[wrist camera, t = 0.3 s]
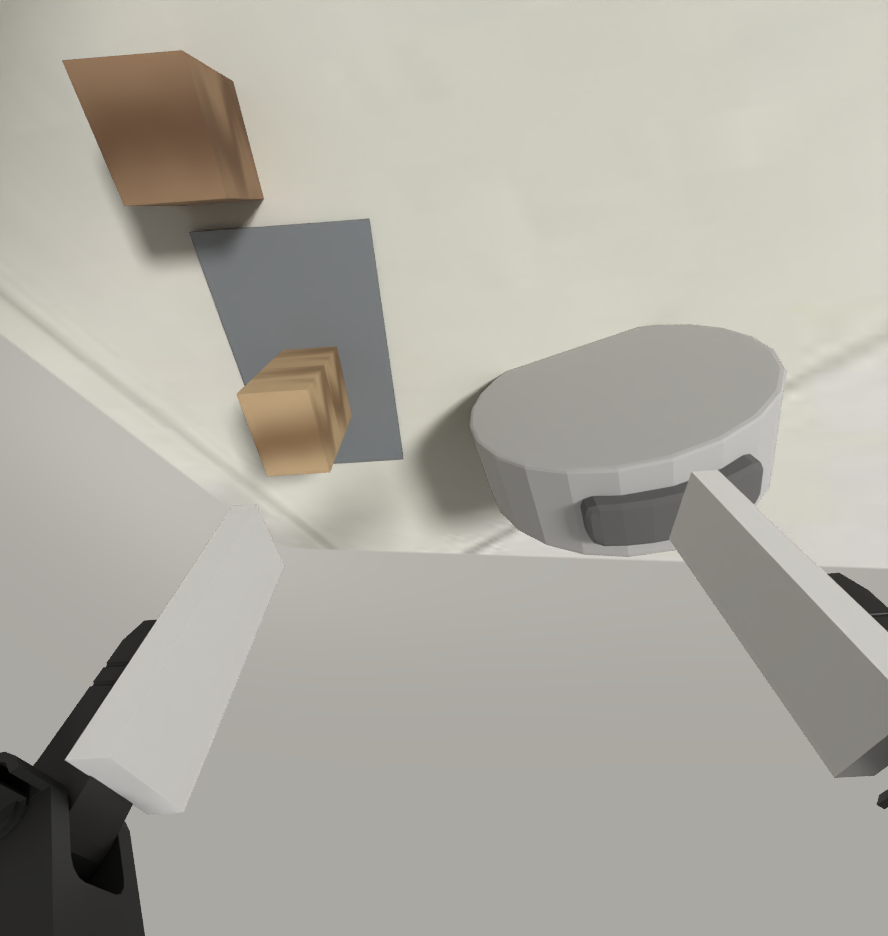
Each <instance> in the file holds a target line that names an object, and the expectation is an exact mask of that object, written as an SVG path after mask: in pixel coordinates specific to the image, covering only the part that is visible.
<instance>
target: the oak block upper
mask: <svg viewBox="0 0 888 936" xmlns="http://www.w3.org/2000/svg"><path fill="white" fill-rule="evenodd" d="M236 395H237V397H238V400H239V402H240V405H241V408H242V410H243V413H244V416H245V418H246V421H247V423H248V426H249V429H250V431H251V434H252V437H253V439H254V442H255V444H256V447H257V450H258V452H259V455H260V458H261V460H262V463H263V465H264V468H265V471H266V473H267V476H279V475H295V474H310V473H326V472H330V471H331V468H332V466H333V463H334V460H335V458H336V455H337V453H338V450H339V448H340V445H341V442H342V438H341V434H340V430H339V426H338V421H337V417H336V413H335V409H334V404H333V400H332V396H331V392H330V388H329V383H328V379H327V375H326V371H325V367H324V365H318V366H303V367H289V368H274V369H262V370H261V371H260V372H259V373H258V374H257V375H256V376H255V377H254V378H253V379H252V380H251V381H250V382H249V383H248V384H247V385H246V386H244V387H243V388H242V389H241V390H240V391H239V392H238V393H237V394H236Z"/></svg>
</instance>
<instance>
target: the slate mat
mask: <svg viewBox="0 0 888 936" xmlns="http://www.w3.org/2000/svg"><path fill="white" fill-rule="evenodd" d="M189 233H190V236H191V238H192V241H193V244H194V247H195V249H196V252H197V255H198V258H199V260H200V263H201V266H202V269H203V271H204V274H205V277H206V280H207V282H208V285H209V288H210V291H211V293H212V296H213V299H214V302H215V304H216V307H217V310H218V313H219V315H220V318H221V321H222V324H223V326H224V329H225V332H226V335H227V337H228V340H229V343H230V346H231V348H232V351H233V354H234V357H235V359H236V362H237V365H238V368H239V370H240V373H241V376H242V379H243V381H244V384H245V386H246V385H247V384H248V383H249V382H250V381H251V380H252V379H253V378H254V377H255V376H256V375H257V374H258V373H259V372H260V371H261V370H262V369H263V368H264V367H265V366H266V365H267V364H268V363H269V362H270V361H272V360H273V359H274V358H275V357H276V356H277V355H278V354H279V353H280V352H281V351H282V350H291V349H306V348H320V347H335V346H337V349H338V354H339V358H340V363H341V368H342V372H343V377H344V382H345V386H346V391H347V396H348V401H349V405H350V410H351V415H352V417H351V419H350V422H349V425H348V427H347V430H346V432H345V435H344V437H343V440H342V442H341V445H340V448H339V450H338V453H337V455H336V458H335V460H334V463H333V464H335V463H351V462H367V461H382V460H398V459H403V452H402V445H401V438H400V431H399V424H398V417H397V410H396V403H395V396H394V389H393V382H392V375H391V368H390V361H389V354H388V347H387V340H386V333H385V325H384V318H383V311H382V304H381V297H380V290H379V283H378V276H377V269H376V262H375V255H374V248H373V241H372V234H371V227H370V220H369V219H360V220H347V221H333V222H320V223H307V224H293V225H280V226H267V227H253V228H240V229H227V230H213V231H200V232H189Z"/></svg>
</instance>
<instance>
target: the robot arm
mask: <svg viewBox="0 0 888 936" xmlns="http://www.w3.org/2000/svg"><path fill="white" fill-rule="evenodd" d="M669 540H670V541H671V542H672V544H673V545H674V547H675V548H676V550H677V551H678V553H679V554H680V555H681V557H682V558H683V560H684V561H685V563H686V564H687V566H688V567H689V568H690V570H691V571H692V573H693V574H694V575H695V577H696V579H697V580H698V581H699V583H700V584H701V586H702V587H703V589H704V590H705V592H706V593H707V594H708V596H709V597H710V599H711V600H712V601H713V603H714V604H715V606H716V607H717V609H718V610H719V612H720V613H721V615H722V616H723V618H724V619H725V620H726V622H727V623H728V625H729V626H730V628H731V629H732V631H733V632H734V633H735V635H736V636H737V638H738V639H739V641H740V642H741V643H742V645H743V646H744V648H745V649H746V651H747V652H748V654H749V655H750V656H751V658H752V659H753V661H754V662H755V664H756V665H757V667H758V668H759V669H760V671H761V672H762V674H763V675H764V677H765V678H766V680H767V681H768V683H769V684H770V685H771V687H772V688H773V690H774V691H775V693H776V694H777V695H778V697H779V698H780V700H781V701H782V703H783V704H784V706H785V707H786V708H787V710H788V711H789V713H790V714H791V716H792V717H793V719H794V720H795V722H796V723H797V724H798V726H799V727H800V729H801V730H802V731H803V733H804V735H805V736H806V737H807V739H808V740H809V742H810V743H811V745H812V746H813V747H814V749H815V750H816V752H817V753H818V755H819V756H820V758H821V759H822V760H823V762H824V763H825V765H826V766H827V768H828V769H829V771H830V772H831V774H832V775H833V776H834V777H835V778H838V777H856V776H874V775H876V774H877V773H879V772H880V771H881V770H883V769H884V768H885V767H887V766H888V607H886V606H885V605H884V604H883V603H882V602H881V601H880V600H879V599H877V598H876V597H875V596H874V595H873V594H872V593H871V592H870V591H869V590H867V589H865V588H864V587H862V586H860V585H859V584H857V583H855V582H854V581H852V580H850V579H848V578H847V577H845V576H844V575H842V574H840V573H831V574H826V573H825V572H824V571H823V570H822V569H821V568H820V567H819V566H818V565H817V564H816V563H815V562H814V561H813V560H812V559H811V558H810V557H809V556H808V555H807V554H805V553H804V552H803V551H802V550H801V549H800V548H799V547H798V546H797V545H796V544H795V543H794V542H793V541H792V540H791V539H790V538H789V537H788V536H787V535H786V534H784V533H783V532H782V531H781V530H780V529H779V528H778V527H777V526H776V525H775V524H774V523H773V522H772V521H771V520H770V519H769V518H768V517H767V516H766V515H765V514H763V513H762V512H761V511H760V510H759V509H758V508H757V507H756V506H755V505H754V504H753V503H752V502H751V501H750V500H749V499H748V498H747V497H746V496H745V495H744V494H742V493H741V492H740V491H739V490H738V489H737V488H736V487H735V486H734V485H733V484H732V483H731V482H730V481H729V480H728V479H727V478H726V477H725V476H724V475H723V474H722V473H720V472H719V471H718V470H708V471H694V472H691V474H690V477H689V480H688V483H687V486H686V489H685V492H684V495H683V498H682V501H681V504H680V507H679V510H678V513H677V516H676V519H675V522H674V525H673V528H672V531H671V534H670V537H669ZM283 568H284V564H283V561H282V559H281V557H280V555H279V552H278V550H277V548H276V546H275V543H274V541H273V539H272V537H271V535H270V532H269V530H268V528H267V526H266V523H265V521H264V519H263V517H262V514H261V512H260V510H259V508H258V505H257V504H253V505H239V506H232V507H231V509H230V510H229V512H228V513H227V515H226V517H225V518H224V519H223V521H222V523H221V524H220V526H219V527H218V529H217V530H216V532H215V533H214V535H213V536H212V538H211V539H210V541H209V542H208V544H207V545H206V547H205V548H204V550H203V551H202V553H201V554H200V556H199V557H198V559H197V560H196V562H195V564H194V565H193V566H192V568H191V570H190V571H189V573H188V574H187V576H186V577H185V579H184V581H183V582H182V583H181V585H180V586H179V588H178V589H177V591H176V592H175V594H174V595H173V597H172V598H171V600H170V601H169V603H168V604H167V606H166V607H165V609H164V611H163V612H162V614H161V615H160V616H159V618H158V620H147V621H143V622H142V623H141V624H140V625H139V626H138V627H137V628H136V629H135V630H133V631H132V632H131V633H130V634H129V635H128V636H127V637H126V638H125V639H124V640H122V642H121V643H120V645H119V646H118V648H117V649H116V651H115V652H114V653H113V655H112V656H111V657H110V659H109V660H108V662H107V666H106V667H104V668H103V669H102V670H101V672H100V673H99V675H98V676H97V677H96V679H95V680H94V681H93V682H94V684H93V686H91V687H89V689H88V690H87V691H86V693H85V695H84V696H83V697H82V699H81V700H80V701H79V703H78V704H77V705H76V707H75V708H74V710H73V711H72V713H71V714H70V716H69V717H68V718H67V720H66V721H65V722H64V724H63V725H62V727H61V728H60V730H59V731H58V732H57V734H56V735H55V737H54V738H53V739H52V741H51V742H50V744H49V745H48V746H47V748H46V750H45V751H44V752H43V754H42V755H41V756H40V758H39V759H38V761H37V762H36V763H35V764H34V766H32V765H30V764H28V763H27V762H25V761H23V760H21V759H20V758H18V757H16V756H14V755H12V754H9V753H7V752H2V753H0V936H145V933H144V927H143V919H142V913H141V906H140V899H139V892H138V885H137V879H136V871H135V865H134V858H133V852H132V844H131V837H130V831H129V829H128V827H127V824H126V822H125V821H124V820H125V819H126V817H127V815H128V813H129V811H130V809H131V807H132V805H134V806H135V807H137V808H139V809H140V810H141V811H143V812H144V813H146V814H163V813H180V812H184V810H185V807H186V805H187V802H188V800H189V797H190V795H191V793H192V790H193V788H194V785H195V783H196V780H197V778H198V776H199V773H200V771H201V768H202V766H203V763H204V761H205V758H206V756H207V754H208V751H209V749H210V746H211V744H212V741H213V739H214V736H215V734H216V732H217V729H218V726H219V724H220V722H221V719H222V717H223V714H224V712H225V709H226V707H227V705H228V702H229V700H230V697H231V695H232V693H233V690H234V688H235V685H236V683H237V680H238V678H239V675H240V673H241V670H242V668H243V666H244V663H245V661H246V658H247V656H248V653H249V651H250V649H251V646H252V644H253V641H254V639H255V636H256V634H257V632H258V629H259V626H260V624H261V622H262V619H263V617H264V614H265V612H266V610H267V607H268V605H269V602H270V600H271V597H272V595H273V592H274V590H275V587H276V585H277V582H278V580H279V578H280V575H281V573H282V571H283ZM877 805H878V806H880V807H882V808H883V809H886V808H887V807H888V790H886V791H885V792H883V793H882V794H880V795H879V798H878V802H877Z"/></svg>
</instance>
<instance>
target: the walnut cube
mask: <svg viewBox="0 0 888 936" xmlns="http://www.w3.org/2000/svg"><path fill="white" fill-rule="evenodd" d="M62 61H63V64H64V66H65V68H66V71H67V73H68V75H69V78H70V80H71V82H72V85H73V87H74V89H75V92H76V94H77V96H78V99H79V101H80V103H81V106H82V108H83V110H84V113H85V115H86V117H87V120H88V122H89V124H90V127H91V129H92V131H93V134H94V136H95V138H96V141H97V143H98V145H99V148H100V150H101V152H102V155H103V157H104V159H105V162H106V164H107V166H108V169H109V171H110V173H111V176H112V178H113V180H114V183H115V185H116V187H117V190H118V192H119V194H120V197H121V199H122V201H123V204H124V206H181V205H194V204H207V203H220V202H233V201H247V200H260V199H264V197H263V194H262V190H261V186H260V182H259V178H258V175H257V171H256V167H255V163H254V159H253V155H252V152H251V148H250V144H249V140H248V136H247V133H246V129H245V125H244V121H243V117H242V113H241V110H240V106H239V102H238V98H237V94H236V91H235V87H234V83H233V81H232V80H230V79H228V78H227V77H225V76H223V75H222V74H220V73H218V72H217V71H215V70H213V69H212V68H210V67H208V66H207V65H205V64H204V63H202V62H200V61H199V60H197V59H195V58H194V57H192V56H190V55H189V54H187V53H185V52H184V51H182V50H180V51H168V52H156V53H145V54H133V55H121V56H109V57H97V58H85V59H73V60H62Z"/></svg>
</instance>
